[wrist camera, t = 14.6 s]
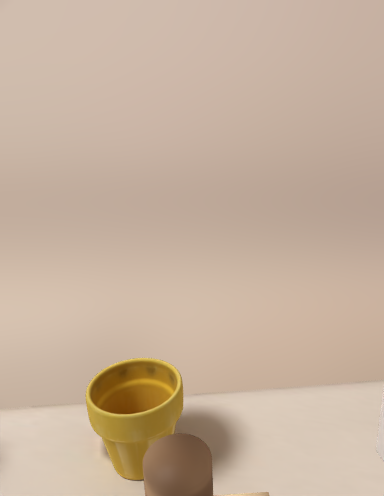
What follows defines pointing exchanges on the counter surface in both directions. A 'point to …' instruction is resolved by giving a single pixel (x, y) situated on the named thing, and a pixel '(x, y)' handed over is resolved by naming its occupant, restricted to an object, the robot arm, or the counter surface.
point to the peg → (178, 467)
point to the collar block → (247, 494)
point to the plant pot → (134, 409)
